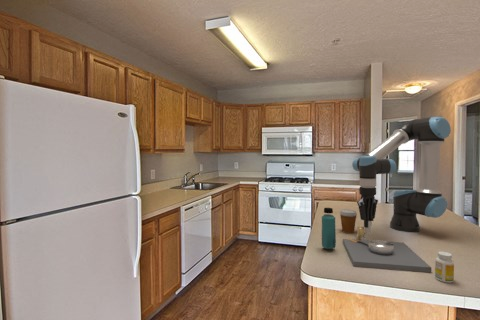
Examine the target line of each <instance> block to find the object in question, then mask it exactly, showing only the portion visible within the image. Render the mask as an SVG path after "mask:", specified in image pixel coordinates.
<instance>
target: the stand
mask: <svg viewBox="0 0 480 320" xmlns="http://www.w3.org/2000/svg"><path fill="white" fill-rule="evenodd" d="M385 241H386V240H385ZM386 242H389V243H392V244H393V245H394V253H393V254H391V255H381V254H376V253H373V252H371V251H370V250H369V249H368V245H367V244H365V243H363V242H360V241H358V240H356V238H355V239H353V238H352V239H351V238H342V245H343V247H344V249H345V252H346V253H347V255H348V257H349V259H350V262H351V264H352V266H353V267H358V268H359V267H360V268H372V269H379V270H380V269H381V270H383V269H385V270H393V271H406V272H418V273H419V272H420V273H432V267H431V266H430V265H429V264H428V263H427V262H426V261H425V260H424V259H422V257H420V256H419V255H418V254H417V253H416V252H415V251H414V250H413V249H411V248H410V247H409V246H408V245H407V244H406V243H405V242H403V241H402V242H401V241H386Z"/></svg>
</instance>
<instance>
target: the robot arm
mask: <svg viewBox="0 0 480 320" xmlns="http://www.w3.org/2000/svg"><path fill="white" fill-rule="evenodd" d="M450 125H451V124H450V122H449V121H448V120H447V119H446V118H445V117H442V116H431V117H423V118H416V119H411V120H409V121H407V122H405V123H403V124H402V125H400V126H399V127H397V128H395V129H394V130H393V132H392V134H391V135H390V136H388V137H387V138H386V139H385V140H383V141H382V142H381V143H379V144H378V145H377V146H375V147H374V148H373V149H371V150H370V151H369V152H367V154H365V155H361V156H359V157H356V158H355V159H353V161H352V165H351V167H352V168H353V170H354V171H356V172H359V173H358V175H359V186H360V187H358V189H359V195H360V196H361V197H360V200H359V201H356V203H357V205H358V210H359V217H360V220H361V221H363V227H364V234H367V235H372V225H373V224H372V222H374V221H375V220H374V219H375V218H376V213H377V207H378V206H377V205H378V202H379V199H377V198H375V196H376V195H377V175H386V174H387V175H389V174H393V173H395V172H396V170H397V163H396V162H395V160H394V159H391V158H387V157H388V156H389V155H390V154H391V153H393V152H394V151H395V150H397V149H398V148H399V147H400V146H401V145H404V144H407V143H408V142H410V141H413V140H414V141H415V140H417V142H418V144H420V163H419V165H420V166H419V167H420V168H419V183H418V184H419V185H418V188H417V189H398V190H397V189H396V190H395V191H394V192H393V198H392V199H393V201H392V202H393V206H392V207H393V215H392V217H391V218H390V219H391V220H390V221H389V222H390V223H389V227H390V228H391V229H393V230H396V231H399V232H400V231H401V232H407V233H408V232H409V233H411V232H412V233H413V232H419V231H421V229H420V228H421V226H420V224H419V220H418V218H417V215H420V216H425V217H427V218H440V217H441V216H443V215H444V214H445V212H446V210H447V209H448V202H447V199H446V198H445V197H443V196H442V195H443V193H442V191H440V188H439V185H440V182H439V181H440V163H441V145H443V144H444V143H445V139H447V138H448V137H450V134H451V131H452V130H451V129H452V128H451V126H450Z"/></svg>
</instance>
